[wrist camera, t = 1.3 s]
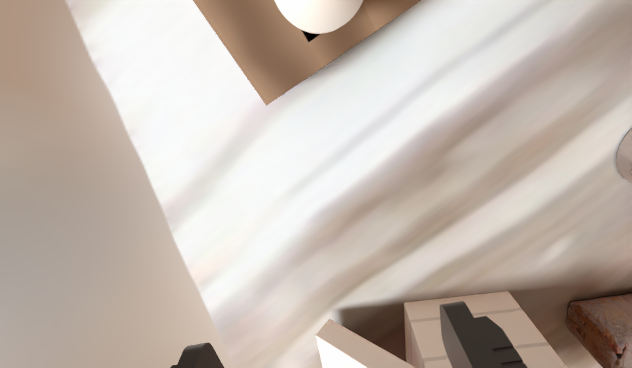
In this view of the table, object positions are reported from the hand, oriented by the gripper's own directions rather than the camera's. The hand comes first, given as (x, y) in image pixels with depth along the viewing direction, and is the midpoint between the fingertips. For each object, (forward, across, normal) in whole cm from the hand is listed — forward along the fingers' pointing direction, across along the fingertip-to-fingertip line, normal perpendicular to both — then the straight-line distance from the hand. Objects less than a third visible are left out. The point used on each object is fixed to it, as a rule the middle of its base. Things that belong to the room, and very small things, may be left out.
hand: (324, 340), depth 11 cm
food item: (+26, -37, +36) cm, 57 cm away
